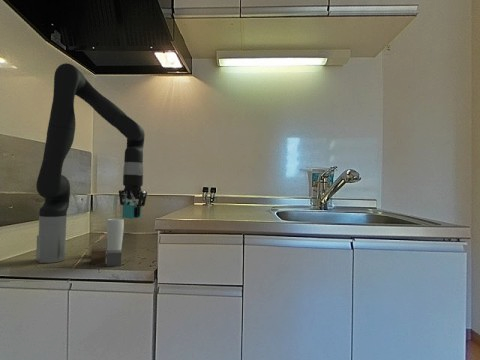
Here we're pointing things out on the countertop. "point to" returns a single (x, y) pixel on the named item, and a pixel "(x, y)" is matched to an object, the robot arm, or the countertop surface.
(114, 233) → the drinking glass
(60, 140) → the robot arm
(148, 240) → the countertop surface
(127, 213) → the teal block
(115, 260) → the charcoal block
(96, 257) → the walnut block
